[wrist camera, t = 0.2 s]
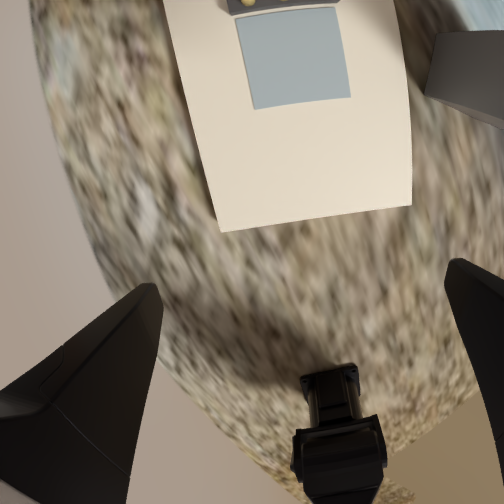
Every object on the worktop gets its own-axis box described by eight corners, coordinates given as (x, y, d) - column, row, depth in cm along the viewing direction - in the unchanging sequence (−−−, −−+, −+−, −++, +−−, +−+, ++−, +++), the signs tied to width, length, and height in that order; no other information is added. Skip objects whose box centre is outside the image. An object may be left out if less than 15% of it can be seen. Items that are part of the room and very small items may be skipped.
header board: (405, 198, 22) (434, 231, 18) (222, 224, 24) (213, 264, 20) (375, -40, 13) (404, -63, 8) (164, -13, 15) (136, -33, 10)
